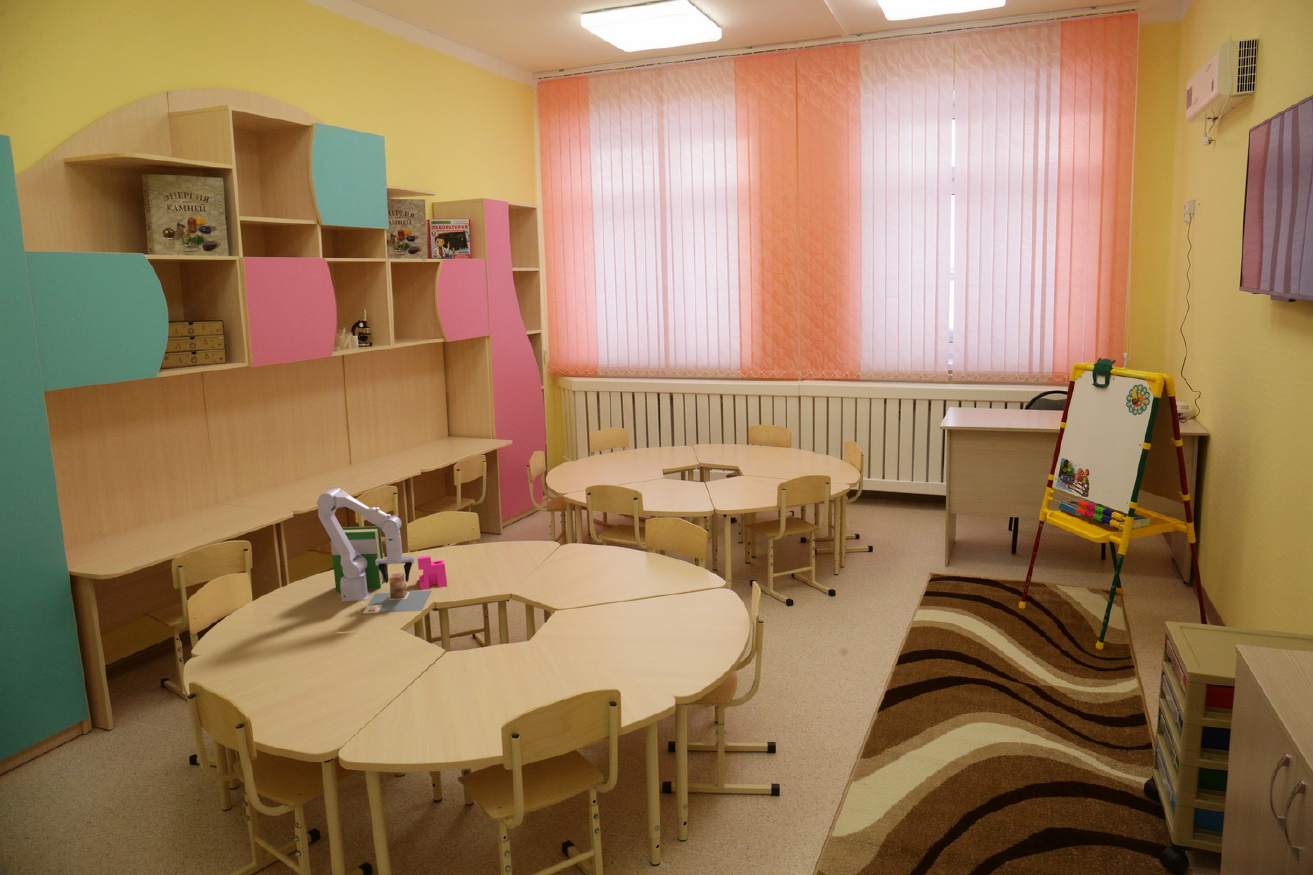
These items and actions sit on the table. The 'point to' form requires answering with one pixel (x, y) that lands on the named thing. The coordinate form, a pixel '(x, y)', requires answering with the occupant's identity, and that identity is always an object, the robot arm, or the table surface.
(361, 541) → the hardback book
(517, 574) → the table surface
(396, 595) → the walnut block
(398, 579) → the terracotta block
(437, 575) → the bracket
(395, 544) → the robot arm
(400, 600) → the mat
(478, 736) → the table surface
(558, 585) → the table surface
